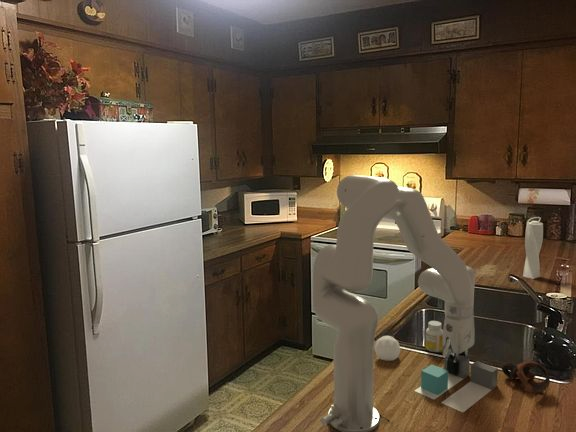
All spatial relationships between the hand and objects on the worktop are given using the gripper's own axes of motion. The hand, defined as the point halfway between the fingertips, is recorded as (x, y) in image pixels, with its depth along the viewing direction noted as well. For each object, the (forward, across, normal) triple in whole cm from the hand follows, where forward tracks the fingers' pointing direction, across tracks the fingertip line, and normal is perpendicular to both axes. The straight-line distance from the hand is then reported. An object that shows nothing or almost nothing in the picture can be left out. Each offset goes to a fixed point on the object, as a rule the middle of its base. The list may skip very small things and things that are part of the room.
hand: (456, 370), depth 137 cm
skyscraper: (+2, +110, +23) cm, 112 cm away
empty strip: (+2, -8, -8) cm, 11 cm away
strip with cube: (+2, -8, 0) cm, 8 cm away
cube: (+1, -12, 0) cm, 12 cm away
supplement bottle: (+2, +10, +13) cm, 16 cm away
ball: (+2, -6, +20) cm, 21 cm away
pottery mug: (+2, +9, -15) cm, 18 cm away
